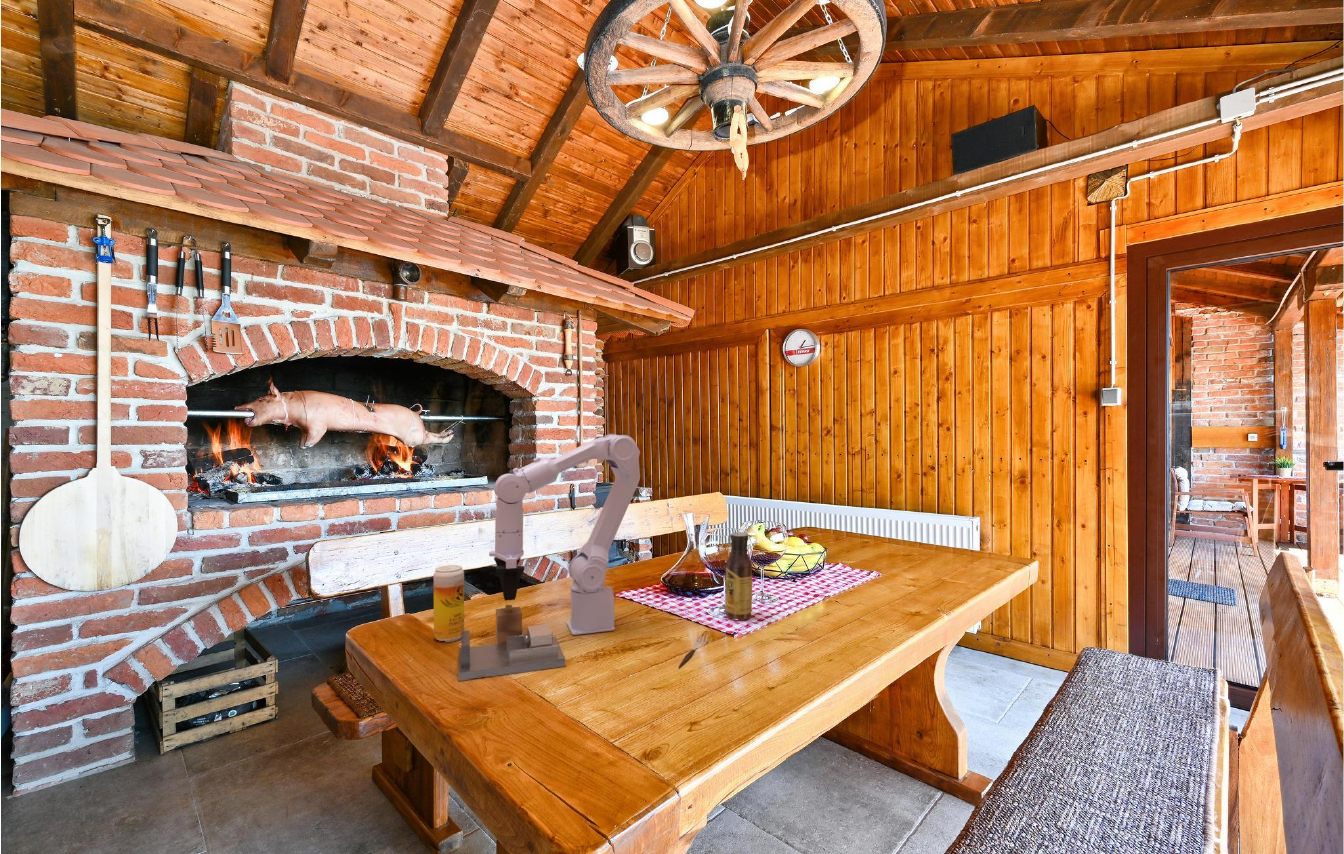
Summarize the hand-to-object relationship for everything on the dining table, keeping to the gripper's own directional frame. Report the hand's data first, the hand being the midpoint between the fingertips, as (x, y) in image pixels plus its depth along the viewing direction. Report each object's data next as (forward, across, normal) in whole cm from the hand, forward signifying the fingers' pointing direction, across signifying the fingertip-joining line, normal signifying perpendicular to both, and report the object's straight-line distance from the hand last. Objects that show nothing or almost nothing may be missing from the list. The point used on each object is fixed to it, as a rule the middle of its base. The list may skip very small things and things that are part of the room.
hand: (508, 594), depth 127 cm
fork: (+10, +20, +34) cm, 41 cm away
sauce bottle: (+9, +4, +52) cm, 53 cm away
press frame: (+10, +12, 0) cm, 15 cm away
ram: (+8, +12, +5) cm, 15 cm away
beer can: (+10, -5, -12) cm, 16 cm away
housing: (+10, 0, 0) cm, 10 cm away
